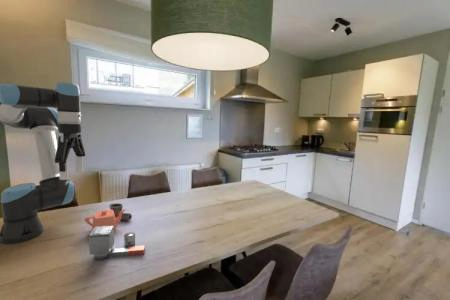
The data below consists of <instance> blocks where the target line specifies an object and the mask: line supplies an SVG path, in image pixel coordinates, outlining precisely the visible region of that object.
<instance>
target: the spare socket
mask: <svg viewBox="0 0 450 300" xmlns="http://www.w3.org/2000/svg"><path fill="white" fill-rule="evenodd" d="M123 238H124V239H123V240H124V241H123V242H124V243H123V244H124V245H123V246H124V247H123V248H129V247H130V246H136V233H135V232H131V231H130V232H127V233H125V234H124V235H123Z"/></svg>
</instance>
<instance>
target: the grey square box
mask: <svg viewBox="0 0 450 300" xmlns="http://www.w3.org/2000/svg"><path fill="white" fill-rule="evenodd" d="M88 245H89V246H88V248H89V250H88V251H89V255H91V256H94V254H107V253H110V251H111V249H113V246H114V245H115V232H114V226H99V227H95V228H94V229H93V231H92V230H91V232H90V233H89V234H88Z"/></svg>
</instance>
